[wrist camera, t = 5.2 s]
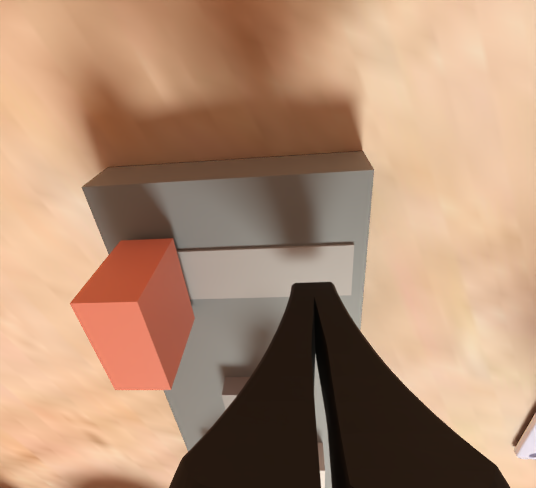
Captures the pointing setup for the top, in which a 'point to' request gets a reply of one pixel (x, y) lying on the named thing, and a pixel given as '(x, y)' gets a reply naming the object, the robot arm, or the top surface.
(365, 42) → the top surface
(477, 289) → the top surface
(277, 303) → the panel
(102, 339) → the slide paddle
